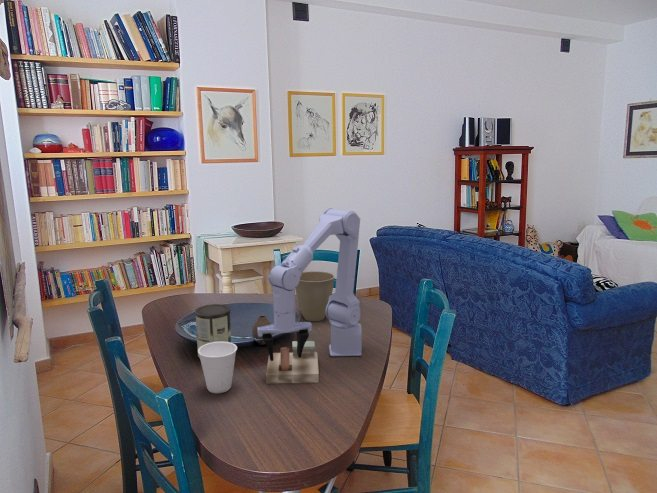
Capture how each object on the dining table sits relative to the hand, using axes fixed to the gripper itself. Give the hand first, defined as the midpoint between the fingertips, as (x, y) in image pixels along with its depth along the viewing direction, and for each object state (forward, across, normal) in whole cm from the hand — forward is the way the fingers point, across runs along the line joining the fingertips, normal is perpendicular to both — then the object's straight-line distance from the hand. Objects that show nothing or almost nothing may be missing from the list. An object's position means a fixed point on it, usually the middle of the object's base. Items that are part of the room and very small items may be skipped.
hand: (285, 357), depth 134 cm
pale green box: (+6, -7, -7) cm, 11 cm away
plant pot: (+6, -19, -43) cm, 47 cm away
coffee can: (+6, +18, -21) cm, 28 cm away
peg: (+6, 0, 0) cm, 6 cm away
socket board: (+6, -2, -2) cm, 7 cm away
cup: (+6, +18, +2) cm, 19 cm away
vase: (+6, +2, -25) cm, 26 cm away
